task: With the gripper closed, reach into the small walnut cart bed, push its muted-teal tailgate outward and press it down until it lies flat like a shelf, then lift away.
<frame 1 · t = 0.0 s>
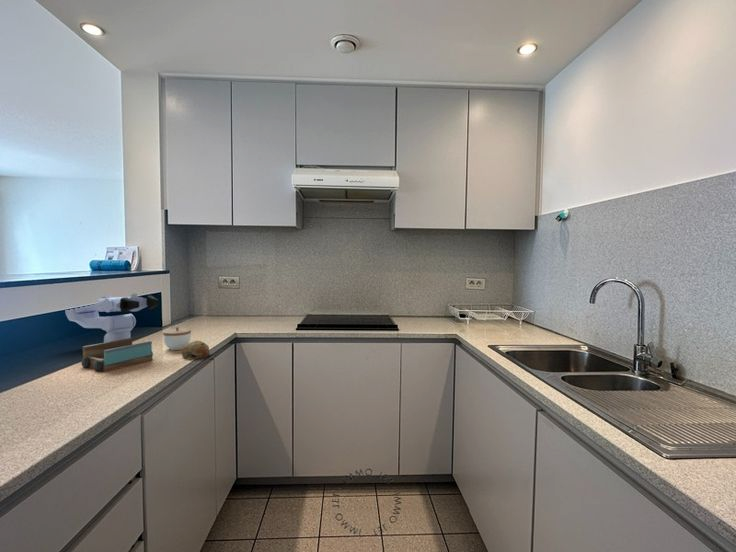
hand: (148, 303, 130), 22 cm above the worktop, tool horizontal, fingers open, 7 cm apart
bread roll: (196, 356, 137), on the worktop
lidded jar: (177, 348, 148), on the worktop
cart bed: (118, 362, 126), on the worktop
tailgate: (129, 352, 123), point 5 cm above the worktop, hinge at 0.0°
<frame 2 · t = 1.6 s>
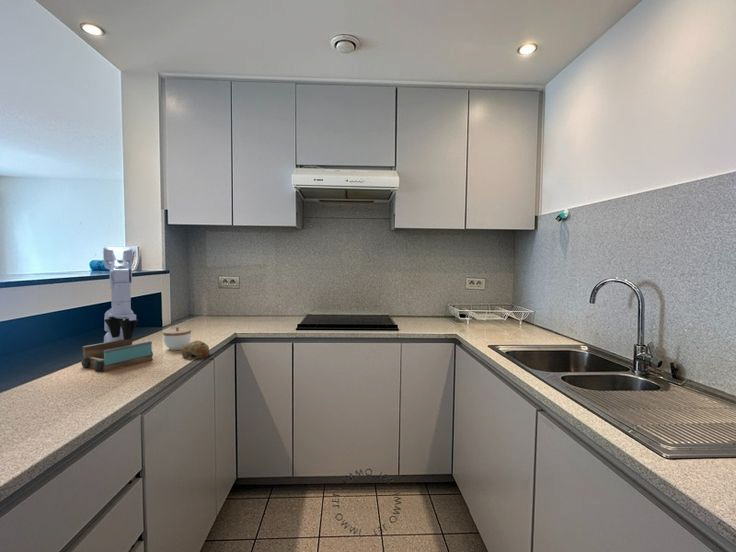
hand: (121, 338, 125), 9 cm above the worktop, tool pointing down, fingers open, 7 cm apart
nothing on the worktop moved.
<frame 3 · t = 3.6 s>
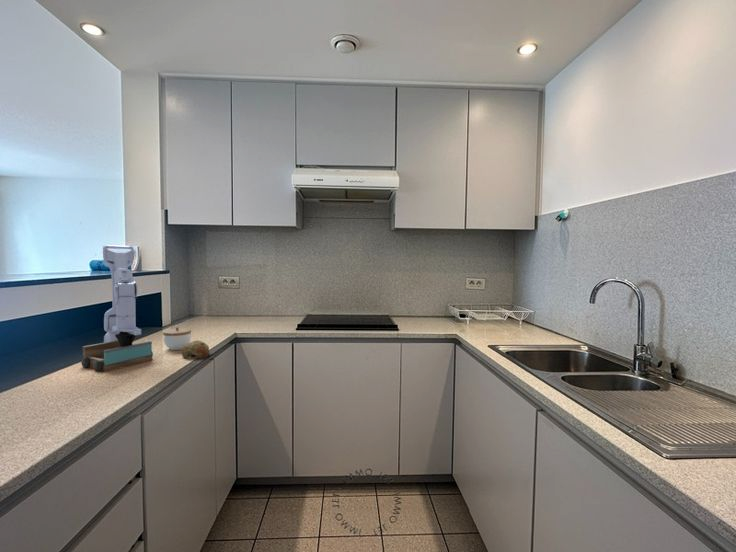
hand: (126, 352, 124), 4 cm above the worktop, tool pointing down, fingers closed, pressing on tailgate
tailgate: (129, 352, 123), point 5 cm above the worktop, hinge at 0.1°, touching gripper
everything else where it was.
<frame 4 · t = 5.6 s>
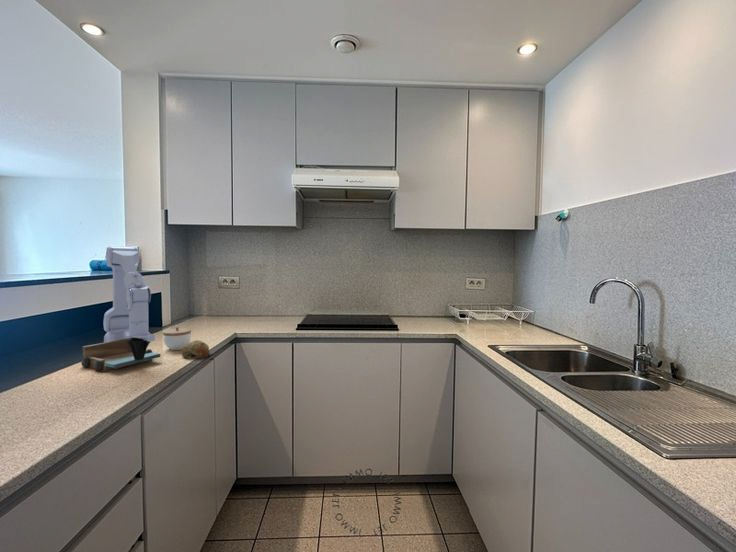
hand: (139, 359, 121), 3 cm above the worktop, tool pointing down, fingers closed
tailgate: (134, 359, 122), point 3 cm above the worktop, hinge at 89.6°, touching gripper
everything else where it was.
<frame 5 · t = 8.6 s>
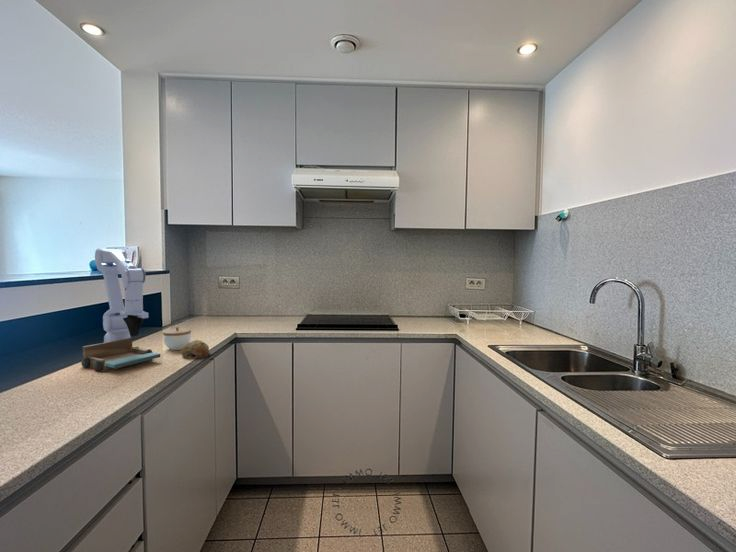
hand: (134, 335, 130), 9 cm above the worktop, tool pointing down, fingers closed
tailgate: (134, 359, 122), point 2 cm above the worktop, hinge at 90.1°
everything else where it was.
at the end: tailgate at +90° (first picture: +0°); bread roll moved 0.9 cm from its start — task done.
